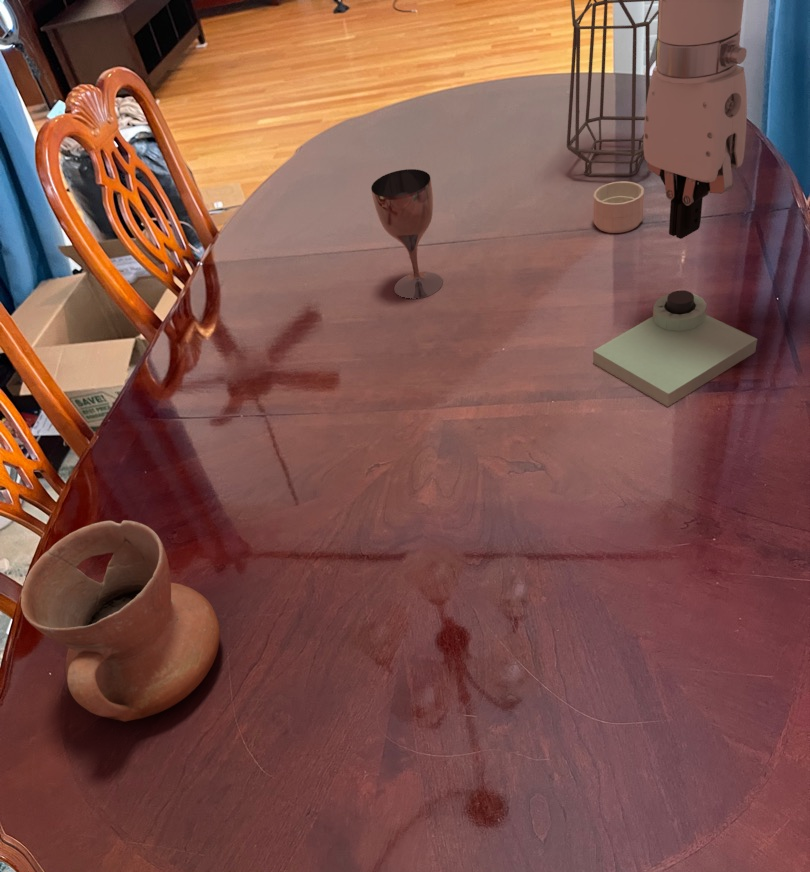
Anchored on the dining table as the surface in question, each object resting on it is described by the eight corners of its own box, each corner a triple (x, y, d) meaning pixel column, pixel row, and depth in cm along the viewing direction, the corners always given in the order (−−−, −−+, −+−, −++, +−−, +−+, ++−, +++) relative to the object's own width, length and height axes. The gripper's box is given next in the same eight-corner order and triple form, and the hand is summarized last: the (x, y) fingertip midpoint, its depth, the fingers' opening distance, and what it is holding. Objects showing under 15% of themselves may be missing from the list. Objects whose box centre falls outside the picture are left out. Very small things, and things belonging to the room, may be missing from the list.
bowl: (618, 206, 124) (619, 177, 120) (652, 220, 119) (654, 189, 116) (583, 224, 122) (583, 195, 118) (617, 239, 117) (617, 209, 114)
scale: (676, 311, 103) (679, 286, 100) (758, 350, 95) (762, 325, 92) (590, 362, 99) (590, 337, 96) (667, 407, 91) (669, 382, 88)
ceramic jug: (115, 598, 85) (50, 503, 75) (246, 594, 83) (197, 494, 72) (50, 756, 73) (-38, 669, 63) (201, 757, 71) (134, 665, 60)
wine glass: (421, 265, 121) (404, 164, 111) (457, 281, 117) (443, 177, 106) (380, 289, 119) (359, 188, 108) (415, 306, 114) (396, 202, 103)
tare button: (679, 298, 99) (680, 287, 98) (698, 307, 97) (699, 296, 96) (661, 309, 98) (662, 297, 97) (680, 318, 97) (681, 306, 95)
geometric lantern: (584, 143, 140) (582, -110, 115) (677, 145, 134) (697, -123, 109) (554, 185, 132) (544, -79, 106) (652, 190, 125) (667, -91, 100)
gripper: (789, 51, 75) (762, 238, 88) (666, 30, 85) (658, 201, 98) (733, 80, 73) (713, 267, 86) (613, 54, 83) (612, 226, 96)
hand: (684, 231), depth 92 cm, fingers closed
